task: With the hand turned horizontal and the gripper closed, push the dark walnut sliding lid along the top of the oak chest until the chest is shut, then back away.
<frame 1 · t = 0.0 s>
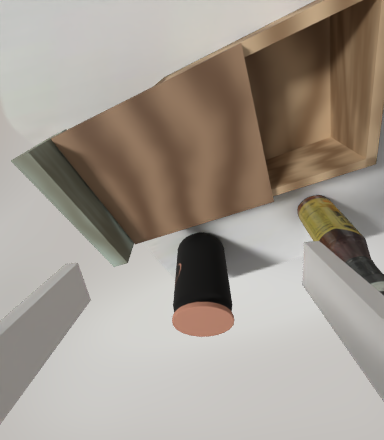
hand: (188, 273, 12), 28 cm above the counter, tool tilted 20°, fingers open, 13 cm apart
chest: (256, 110, 32), on the counter
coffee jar: (200, 246, 51), on the counter
sauce bottle: (310, 205, 43), on the counter
lid: (163, 176, 27), point 11 cm above the counter, slide at 13.0 cm
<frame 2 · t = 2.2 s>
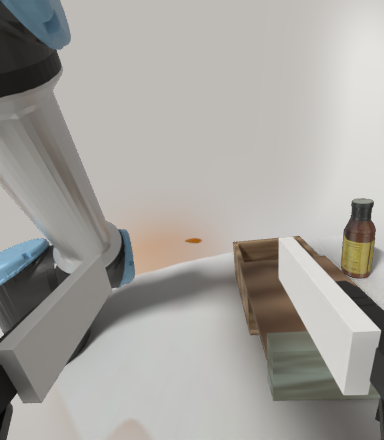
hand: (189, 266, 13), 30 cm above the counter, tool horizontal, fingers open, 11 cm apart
chest: (278, 295, 52), on the counter
sauce bottle: (354, 273, 56), on the counter
lid: (306, 298, 35), point 11 cm above the counter, slide at 13.0 cm
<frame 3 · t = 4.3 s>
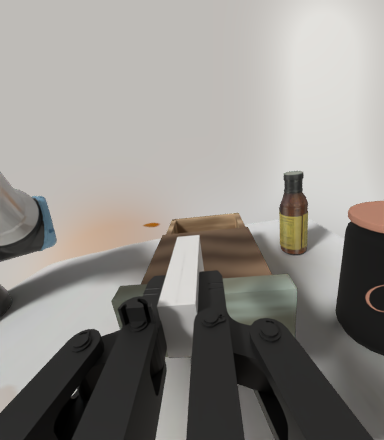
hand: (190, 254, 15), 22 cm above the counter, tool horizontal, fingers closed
chest: (209, 271, 51), on the counter
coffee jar: (378, 330, 31), on the counter
sauce bottle: (292, 250, 55), on the counter
lid: (204, 263, 33), point 11 cm above the counter, slide at 13.0 cm
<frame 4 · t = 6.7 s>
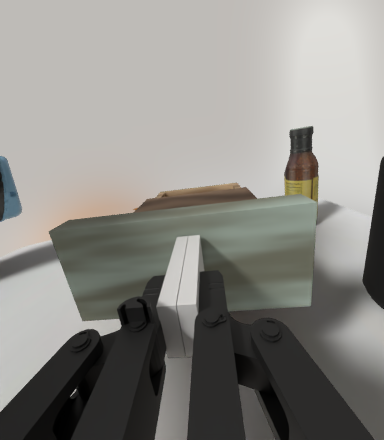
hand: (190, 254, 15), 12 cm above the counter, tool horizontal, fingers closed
chest: (202, 246, 43), on the counter
sauce bottle: (299, 224, 47), on the counter
lid: (192, 215, 27), point 11 cm above the counter, slide at 11.7 cm, touching gripper
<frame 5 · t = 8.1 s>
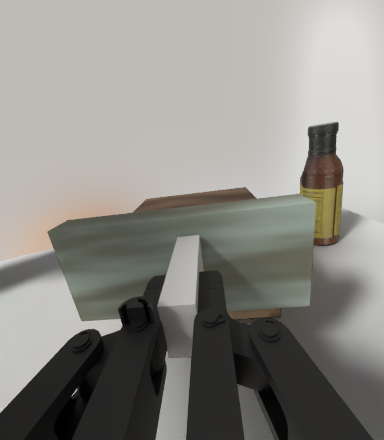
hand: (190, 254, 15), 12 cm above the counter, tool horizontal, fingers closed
chest: (201, 269, 35), on the counter
sauce bottle: (317, 240, 40), on the counter
lid: (191, 215, 27), point 11 cm above the counter, slide at 3.6 cm, touching gripper
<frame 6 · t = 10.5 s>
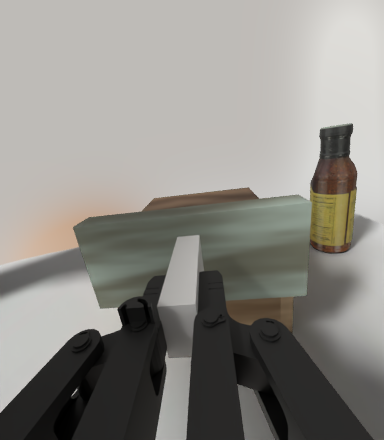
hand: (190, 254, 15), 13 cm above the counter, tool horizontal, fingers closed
chest: (206, 277, 34), on the counter
sauce bottle: (327, 247, 38), on the counter
lid: (197, 214, 29), point 11 cm above the counter, slide at 0.0 cm
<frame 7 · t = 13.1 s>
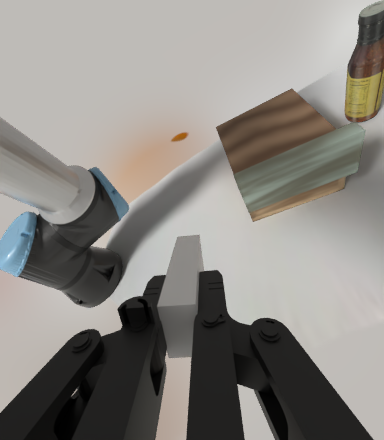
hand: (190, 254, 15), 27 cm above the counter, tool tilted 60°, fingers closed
chest: (276, 172, 50), on the counter
sauce bottle: (359, 116, 49), on the counter
lid: (270, 137, 42), point 11 cm above the counter, slide at 0.0 cm
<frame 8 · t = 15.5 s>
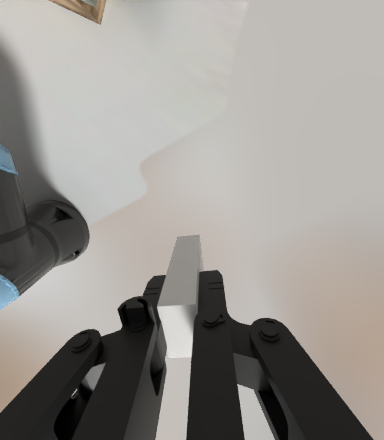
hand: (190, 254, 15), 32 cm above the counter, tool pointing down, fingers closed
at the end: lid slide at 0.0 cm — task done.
